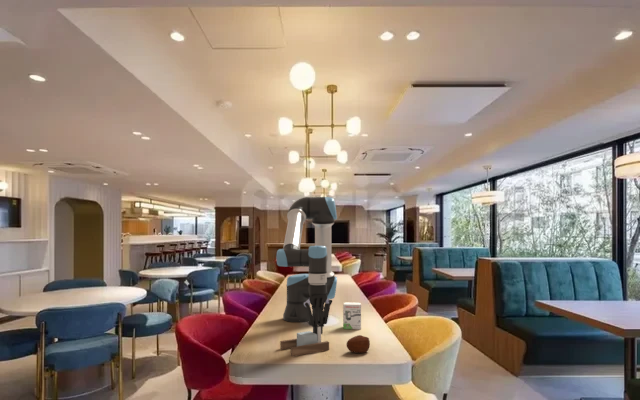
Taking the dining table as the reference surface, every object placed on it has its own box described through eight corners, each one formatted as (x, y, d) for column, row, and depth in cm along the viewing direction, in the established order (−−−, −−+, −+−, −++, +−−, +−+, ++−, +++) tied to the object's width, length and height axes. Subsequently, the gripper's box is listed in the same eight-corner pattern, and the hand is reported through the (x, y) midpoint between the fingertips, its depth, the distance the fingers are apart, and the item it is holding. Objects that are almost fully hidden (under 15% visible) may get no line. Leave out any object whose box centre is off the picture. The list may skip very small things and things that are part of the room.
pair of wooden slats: (280, 348, 157) (280, 341, 158) (315, 342, 165) (315, 335, 166) (292, 356, 148) (292, 348, 148) (329, 349, 156) (329, 342, 156)
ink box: (343, 329, 188) (343, 304, 189) (343, 326, 193) (343, 302, 194) (361, 329, 188) (361, 304, 189) (360, 326, 193) (360, 302, 194)
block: (296, 348, 158) (296, 333, 158) (309, 346, 161) (309, 331, 161) (304, 352, 153) (304, 336, 153) (317, 349, 156) (317, 334, 156)
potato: (372, 355, 150) (372, 337, 150) (347, 355, 149) (347, 338, 149) (368, 349, 157) (368, 333, 157) (344, 350, 156) (344, 333, 156)
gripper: (308, 286, 155) (308, 347, 153) (336, 283, 162) (336, 342, 160) (299, 283, 161) (299, 343, 160) (326, 281, 168) (326, 338, 166)
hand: (317, 342), depth 160 cm, fingers closed
